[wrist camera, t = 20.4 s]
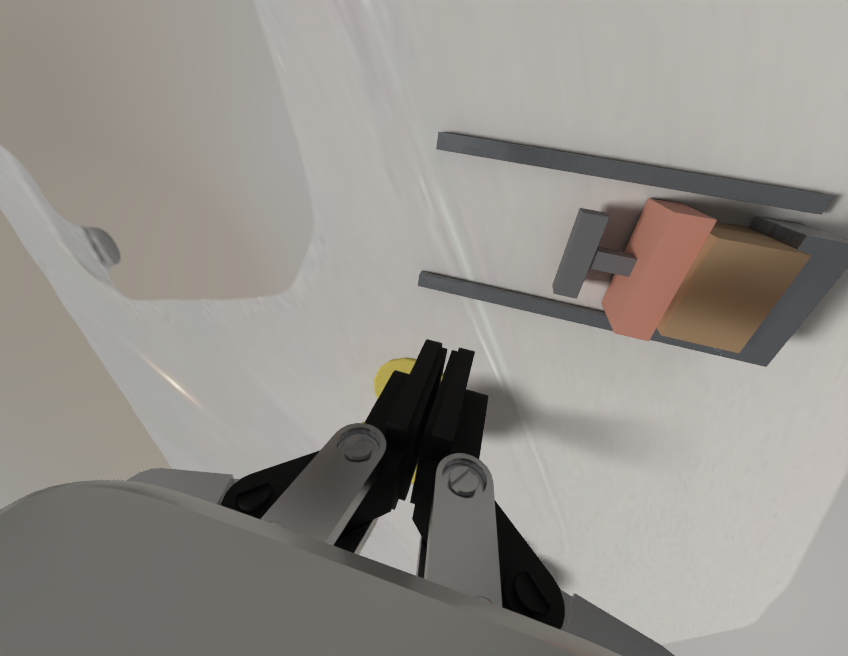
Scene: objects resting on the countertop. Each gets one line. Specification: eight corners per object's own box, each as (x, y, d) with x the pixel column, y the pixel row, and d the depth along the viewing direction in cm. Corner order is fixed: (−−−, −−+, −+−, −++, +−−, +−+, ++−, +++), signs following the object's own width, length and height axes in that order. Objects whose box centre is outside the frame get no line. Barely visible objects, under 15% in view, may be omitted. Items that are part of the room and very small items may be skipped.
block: (675, 214, 27) (717, 238, 21) (747, 227, 26) (811, 255, 20) (635, 295, 30) (661, 335, 25) (697, 309, 30) (739, 353, 24)
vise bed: (441, 131, 28) (424, 132, 23) (823, 194, 24) (894, 209, 19) (420, 281, 35) (404, 305, 30) (715, 349, 31) (748, 388, 26)
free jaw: (582, 186, 27) (594, 198, 22) (683, 204, 26) (717, 219, 21) (546, 290, 32) (549, 318, 27) (630, 309, 31) (648, 341, 26)
